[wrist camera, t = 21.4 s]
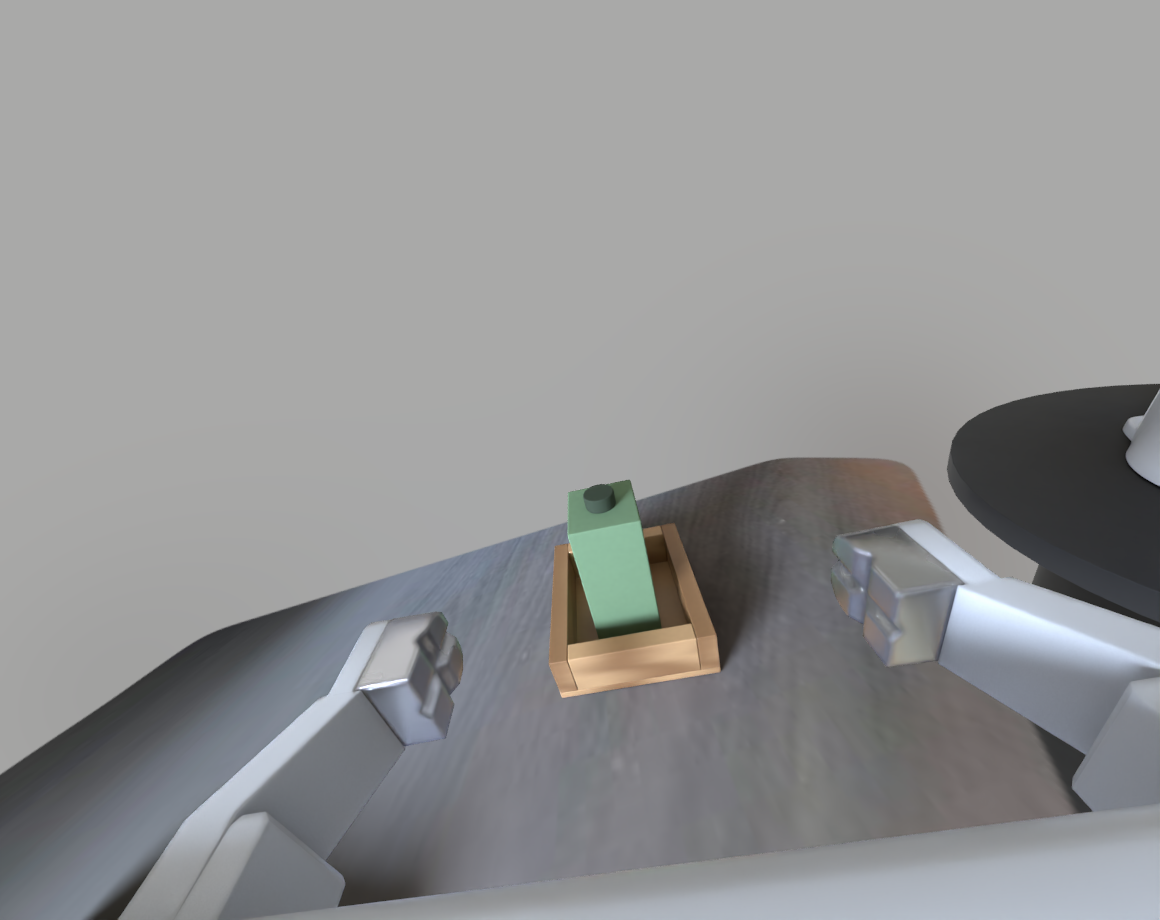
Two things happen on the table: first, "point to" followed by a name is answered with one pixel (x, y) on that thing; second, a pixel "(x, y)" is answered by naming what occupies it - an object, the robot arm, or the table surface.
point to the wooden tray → (635, 656)
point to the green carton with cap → (612, 559)
